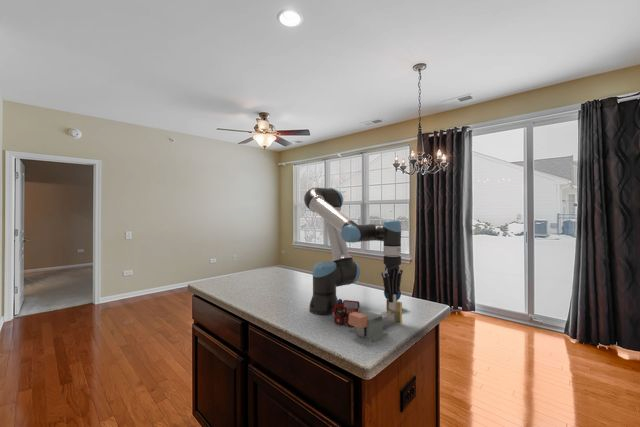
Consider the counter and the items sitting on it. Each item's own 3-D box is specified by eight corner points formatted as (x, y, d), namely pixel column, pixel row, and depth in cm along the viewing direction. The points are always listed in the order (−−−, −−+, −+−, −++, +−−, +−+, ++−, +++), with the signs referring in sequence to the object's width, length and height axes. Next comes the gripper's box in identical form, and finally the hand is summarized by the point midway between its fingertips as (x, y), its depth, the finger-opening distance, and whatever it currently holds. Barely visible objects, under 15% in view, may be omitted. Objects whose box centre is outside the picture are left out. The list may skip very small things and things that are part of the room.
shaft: (366, 339, 108) (366, 315, 108) (353, 333, 113) (352, 310, 113) (402, 323, 124) (402, 302, 124) (388, 318, 129) (388, 298, 129)
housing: (374, 341, 106) (374, 322, 106) (349, 331, 116) (349, 313, 116) (387, 335, 112) (387, 317, 112) (362, 326, 121) (362, 309, 121)
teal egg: (401, 311, 139) (401, 287, 139) (384, 310, 140) (384, 286, 140) (400, 306, 147) (400, 283, 147) (383, 305, 149) (383, 282, 149)
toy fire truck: (335, 318, 131) (335, 295, 131) (361, 322, 125) (361, 299, 125) (329, 323, 124) (329, 299, 124) (357, 328, 119) (356, 303, 119)
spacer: (360, 328, 106) (360, 318, 106) (348, 324, 111) (348, 313, 111) (367, 326, 109) (367, 315, 109) (355, 321, 113) (355, 311, 113)
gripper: (390, 257, 118) (390, 314, 118) (408, 254, 126) (408, 308, 126) (376, 255, 123) (376, 310, 123) (393, 253, 132) (393, 304, 132)
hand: (392, 309), depth 125 cm, fingers closed
